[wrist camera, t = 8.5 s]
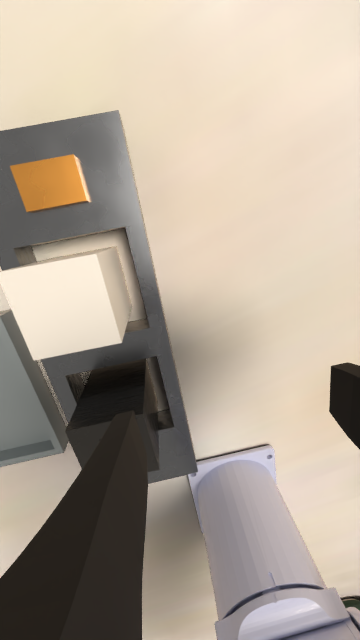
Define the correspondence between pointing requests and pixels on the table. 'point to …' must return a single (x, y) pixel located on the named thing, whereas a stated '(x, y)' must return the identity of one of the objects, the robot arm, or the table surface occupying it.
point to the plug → (69, 302)
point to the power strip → (125, 212)
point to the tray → (25, 402)
